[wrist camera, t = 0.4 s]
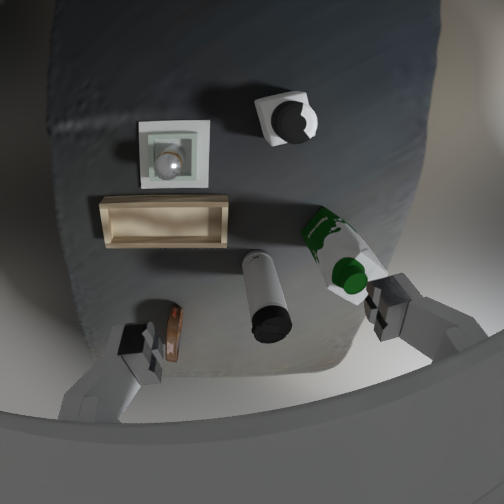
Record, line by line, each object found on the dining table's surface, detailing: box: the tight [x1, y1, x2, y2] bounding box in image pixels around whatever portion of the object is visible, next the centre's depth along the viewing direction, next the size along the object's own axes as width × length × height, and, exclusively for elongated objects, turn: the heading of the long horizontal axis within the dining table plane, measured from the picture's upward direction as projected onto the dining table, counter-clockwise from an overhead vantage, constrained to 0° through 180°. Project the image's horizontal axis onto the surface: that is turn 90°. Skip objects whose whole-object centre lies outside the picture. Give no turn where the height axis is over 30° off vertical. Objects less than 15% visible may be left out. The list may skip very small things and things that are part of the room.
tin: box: [166, 307, 183, 363], centre depth 65 cm, size 15×3×8 cm, turn 168°
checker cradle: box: [139, 120, 210, 189], centre depth 48 cm, size 12×12×3 cm
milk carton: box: [301, 206, 388, 306], centre depth 52 cm, size 9×9×20 cm
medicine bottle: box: [254, 91, 317, 146], centre depth 42 cm, size 7×7×12 cm
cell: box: [154, 144, 185, 181], centre depth 45 cm, size 4×4×8 cm
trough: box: [99, 195, 228, 248], centre depth 53 cm, size 9×23×4 cm, turn 86°
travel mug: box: [242, 250, 292, 344], centre depth 54 cm, size 6×7×20 cm
